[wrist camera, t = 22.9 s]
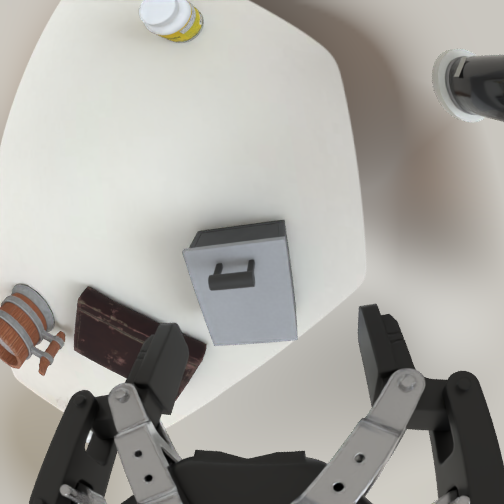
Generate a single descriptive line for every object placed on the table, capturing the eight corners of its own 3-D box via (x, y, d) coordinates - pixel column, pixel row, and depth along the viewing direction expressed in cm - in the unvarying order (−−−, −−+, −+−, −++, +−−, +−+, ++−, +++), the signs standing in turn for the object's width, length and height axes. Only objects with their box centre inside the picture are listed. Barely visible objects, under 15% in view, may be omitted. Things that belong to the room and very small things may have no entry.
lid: (183, 248, 37) (170, 272, 33) (284, 236, 36) (285, 259, 31) (214, 342, 45) (208, 368, 40) (297, 336, 43) (298, 363, 38)
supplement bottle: (156, 33, 30) (122, 19, 21) (179, 2, 28) (152, -21, 19) (188, 50, 31) (161, 37, 23) (212, 17, 29) (193, -5, 20)
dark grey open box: (197, 231, 44) (185, 254, 38) (284, 219, 42) (285, 242, 36) (221, 313, 51) (214, 341, 45) (295, 307, 49) (297, 335, 43)
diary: (89, 282, 50) (76, 298, 46) (208, 340, 55) (203, 360, 50) (82, 339, 59) (73, 354, 55) (179, 385, 63) (174, 403, 59)
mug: (10, 273, 52) (-28, 312, 39) (72, 309, 55) (37, 359, 42) (17, 314, 59) (-14, 351, 46) (74, 347, 61) (47, 393, 48)
